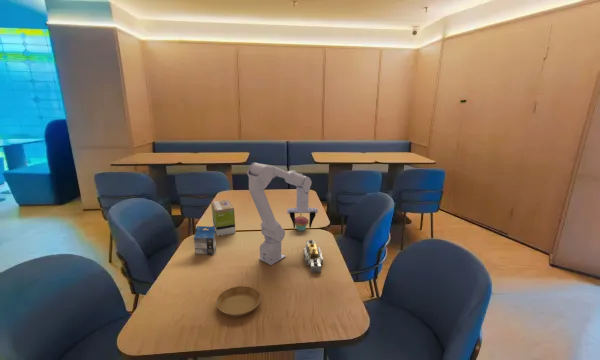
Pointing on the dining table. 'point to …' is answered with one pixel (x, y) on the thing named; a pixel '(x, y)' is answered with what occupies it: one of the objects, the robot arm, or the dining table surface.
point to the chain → (314, 263)
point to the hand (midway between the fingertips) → (302, 226)
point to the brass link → (312, 251)
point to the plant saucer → (238, 300)
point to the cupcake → (301, 222)
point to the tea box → (223, 217)
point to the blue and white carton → (205, 240)
